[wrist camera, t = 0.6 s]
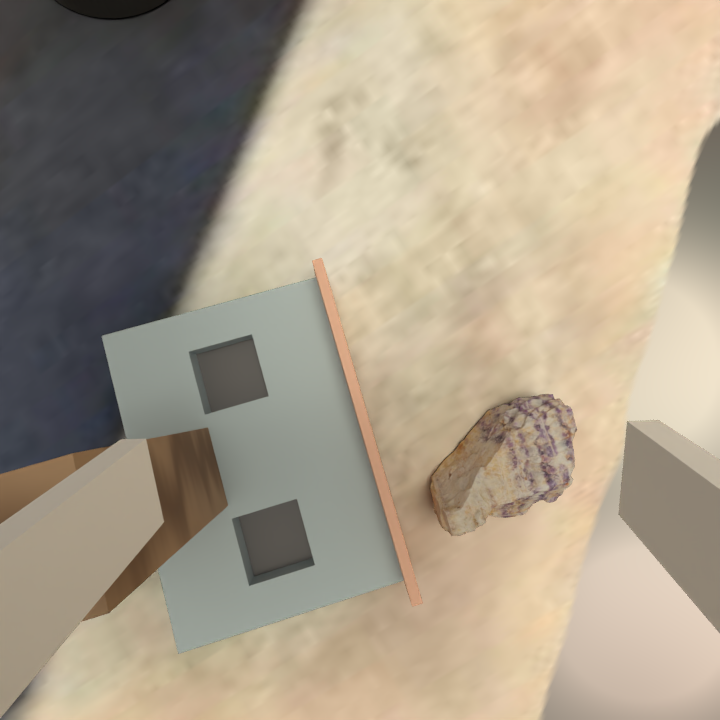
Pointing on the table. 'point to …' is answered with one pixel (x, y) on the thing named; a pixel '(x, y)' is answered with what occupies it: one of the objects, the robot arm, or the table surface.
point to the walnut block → (175, 490)
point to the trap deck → (265, 459)
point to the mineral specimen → (506, 464)
